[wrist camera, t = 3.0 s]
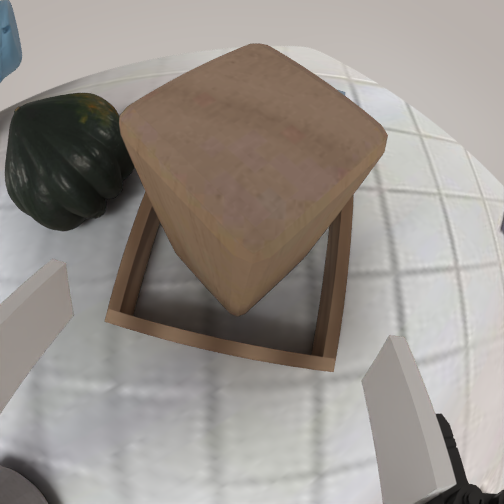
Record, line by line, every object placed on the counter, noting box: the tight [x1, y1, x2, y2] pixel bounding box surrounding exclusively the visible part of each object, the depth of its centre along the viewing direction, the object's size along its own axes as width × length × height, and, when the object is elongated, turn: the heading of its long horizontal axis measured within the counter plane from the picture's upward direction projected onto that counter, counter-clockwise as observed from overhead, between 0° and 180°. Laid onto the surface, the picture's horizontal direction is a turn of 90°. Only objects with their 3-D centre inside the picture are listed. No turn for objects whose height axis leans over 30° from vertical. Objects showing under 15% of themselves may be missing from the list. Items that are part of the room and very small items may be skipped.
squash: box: [5, 93, 135, 231], centre depth 27 cm, size 14×15×15 cm
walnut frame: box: [105, 191, 354, 372], centre depth 29 cm, size 20×20×4 cm
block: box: [119, 44, 388, 317], centre depth 22 cm, size 10×10×20 cm
